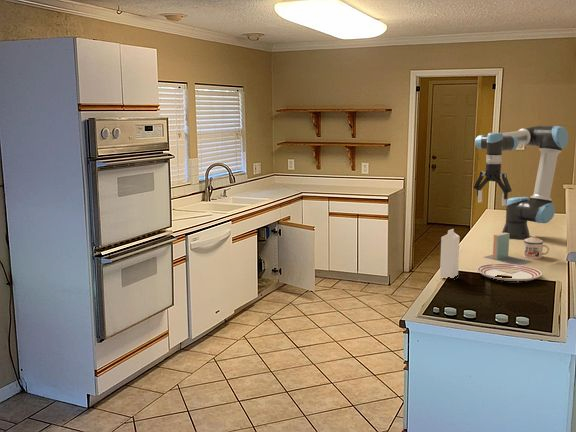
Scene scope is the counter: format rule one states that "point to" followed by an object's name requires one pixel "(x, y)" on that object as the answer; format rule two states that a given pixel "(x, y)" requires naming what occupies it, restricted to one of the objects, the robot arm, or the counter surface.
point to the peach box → (501, 245)
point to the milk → (449, 254)
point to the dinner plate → (521, 275)
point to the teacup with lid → (533, 248)
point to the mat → (510, 260)
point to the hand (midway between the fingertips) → (491, 203)
